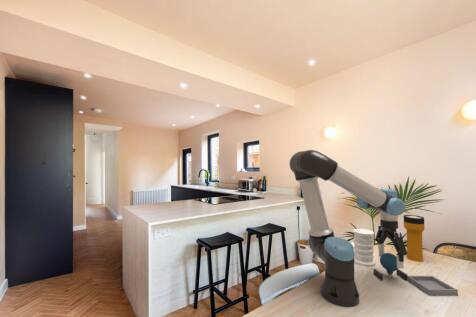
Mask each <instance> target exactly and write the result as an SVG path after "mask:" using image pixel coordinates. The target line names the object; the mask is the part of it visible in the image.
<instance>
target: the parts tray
mask: <svg viewBox="0 0 476 317" xmlns="http://www.w3.org/2000/svg"><path fill="white" fill-rule="evenodd" d="M407 283H409V284H411V285H412V286H413V287H415V288H417V289H418V290H420V291H421V292H423V293H424V294H426V295H427V296H429V297H431V296H432V297H434V296H435V297H436V296H437V297H438V296H440V297H441V296H442V297H443V296H444V297H451V296H452V297H453V296H454V297H457V296H459V290H458V289H457V288H455V287H454V286H452V285H450V284H448V283H446V282H444V281H443V280H441V279H439V278H437V277H435V276H433V275H407Z"/></svg>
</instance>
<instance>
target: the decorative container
mask: <svg viewBox="0 0 476 317" xmlns="http://www.w3.org/2000/svg"><path fill="white" fill-rule="evenodd" d="M352 233H353V234H354V235H353V240H354V241H353V247H354V254H355V256H354V264H356V265H359V266H362V267H365V268H366V267H367V268H369V267H371V268H372V267H374V266H376V261H375V260H374V247H375V246H374V235H375V232H374V231H373V230H370V229H365V228H354V229H352Z"/></svg>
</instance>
